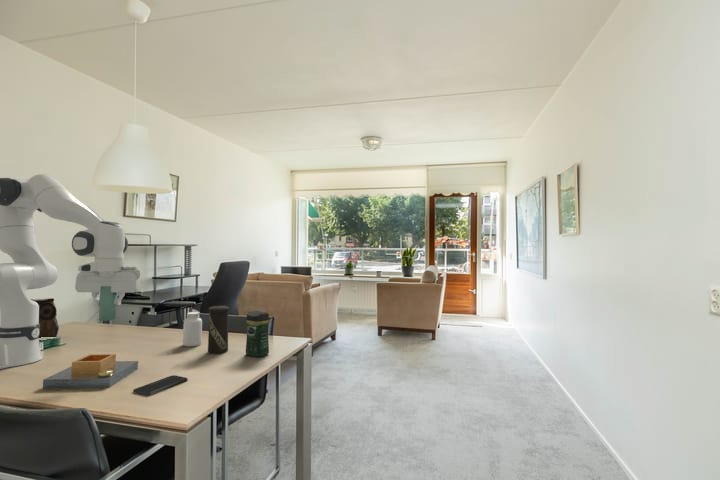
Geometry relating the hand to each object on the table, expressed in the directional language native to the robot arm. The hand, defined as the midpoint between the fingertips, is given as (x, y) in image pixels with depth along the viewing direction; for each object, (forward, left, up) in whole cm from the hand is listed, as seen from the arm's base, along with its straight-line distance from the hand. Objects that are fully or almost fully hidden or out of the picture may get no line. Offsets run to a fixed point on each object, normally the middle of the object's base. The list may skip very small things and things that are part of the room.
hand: (107, 305), depth 129 cm
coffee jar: (+49, +21, -25) cm, 59 cm away
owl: (-60, +56, -25) cm, 86 cm away
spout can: (0, 0, -5) cm, 5 cm away
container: (+31, +27, -25) cm, 48 cm away
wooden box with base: (-2, -4, -25) cm, 25 cm away
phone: (+24, -13, -25) cm, 37 cm away
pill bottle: (+16, +39, -25) cm, 49 cm away
